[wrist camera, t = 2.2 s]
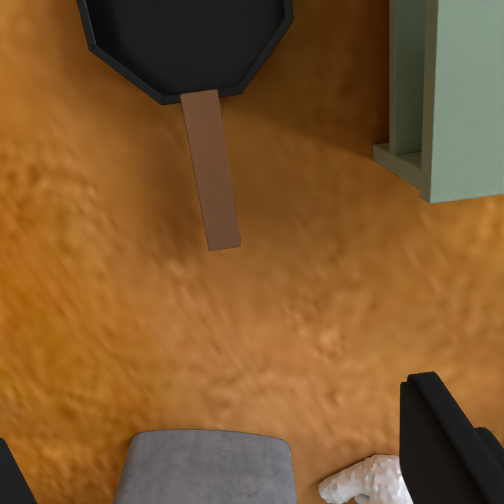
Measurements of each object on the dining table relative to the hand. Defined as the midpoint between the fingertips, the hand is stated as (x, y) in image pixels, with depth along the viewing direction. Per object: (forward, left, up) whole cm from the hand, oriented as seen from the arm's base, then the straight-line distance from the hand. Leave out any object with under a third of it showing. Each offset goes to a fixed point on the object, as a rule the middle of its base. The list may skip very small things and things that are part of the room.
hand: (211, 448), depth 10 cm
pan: (+1, -8, -23) cm, 25 cm away
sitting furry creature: (-10, +32, -24) cm, 41 cm away
